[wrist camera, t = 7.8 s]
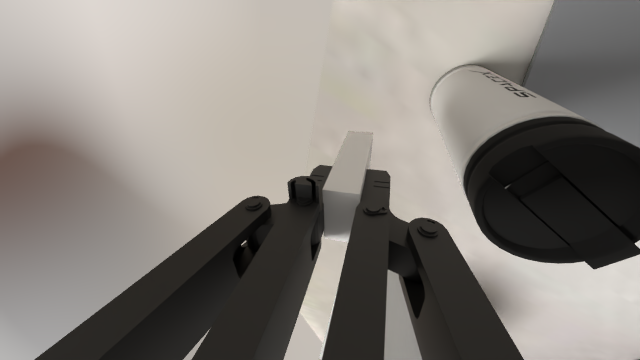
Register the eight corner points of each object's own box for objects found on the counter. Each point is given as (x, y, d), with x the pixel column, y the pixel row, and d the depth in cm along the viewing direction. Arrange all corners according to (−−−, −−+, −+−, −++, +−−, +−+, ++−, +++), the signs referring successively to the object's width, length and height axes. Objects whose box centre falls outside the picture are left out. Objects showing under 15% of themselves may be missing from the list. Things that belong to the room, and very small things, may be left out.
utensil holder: (347, 305, 52) (328, 413, 37) (328, 255, 45) (296, 363, 31) (422, 311, 46) (433, 439, 32) (413, 255, 40) (423, 386, 25)
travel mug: (458, 137, 28) (542, 291, 12) (416, 100, 27) (446, 212, 11) (512, 94, 25) (735, 228, 9) (467, 50, 24) (616, 106, 8)
